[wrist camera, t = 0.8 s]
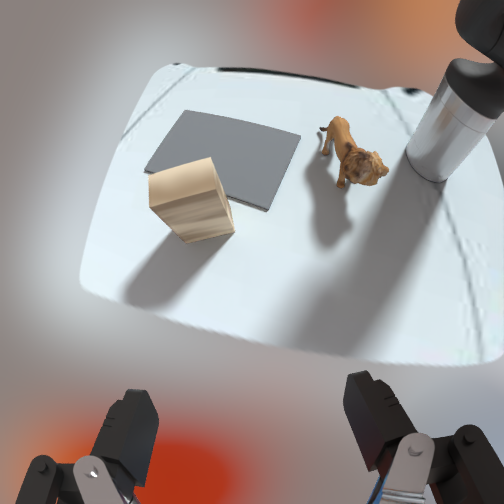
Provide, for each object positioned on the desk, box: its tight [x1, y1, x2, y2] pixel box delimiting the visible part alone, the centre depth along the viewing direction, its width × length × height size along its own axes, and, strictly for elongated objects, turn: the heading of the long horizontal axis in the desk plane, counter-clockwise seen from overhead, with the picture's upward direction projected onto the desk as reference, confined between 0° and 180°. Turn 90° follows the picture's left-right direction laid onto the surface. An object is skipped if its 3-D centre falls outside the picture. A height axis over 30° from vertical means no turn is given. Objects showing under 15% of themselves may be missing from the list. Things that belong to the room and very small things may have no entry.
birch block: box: [148, 157, 235, 244], centre depth 32 cm, size 4×7×12 cm, turn 102°
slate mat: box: [144, 110, 301, 210], centre depth 41 cm, size 14×22×1 cm, turn 67°
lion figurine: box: [320, 116, 389, 188], centre depth 34 cm, size 15×5×9 cm, turn 20°
